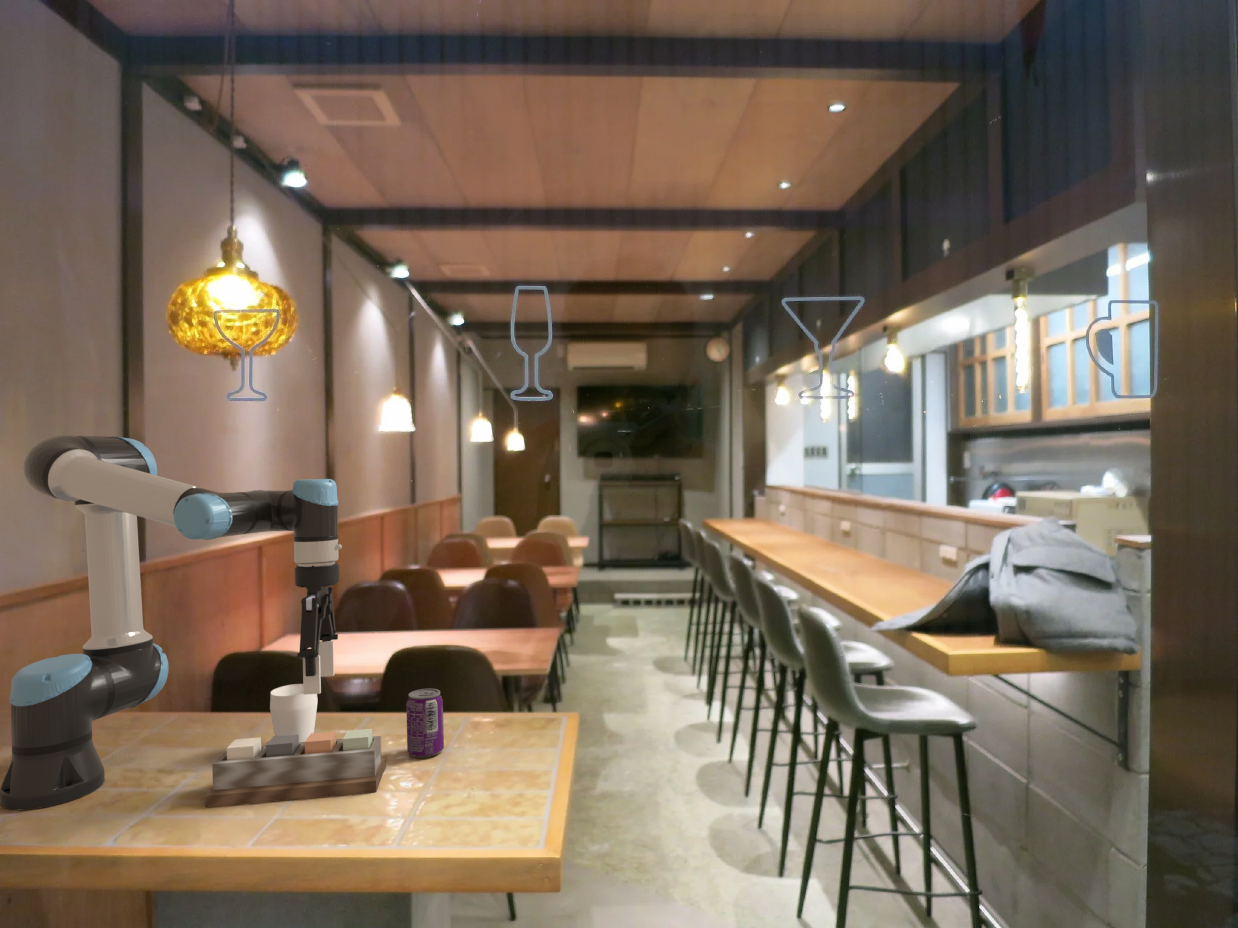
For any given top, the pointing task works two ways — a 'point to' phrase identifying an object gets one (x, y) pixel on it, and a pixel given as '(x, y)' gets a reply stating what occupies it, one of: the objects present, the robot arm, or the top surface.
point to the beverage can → (425, 723)
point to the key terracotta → (320, 742)
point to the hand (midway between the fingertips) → (319, 684)
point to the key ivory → (244, 748)
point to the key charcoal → (282, 745)
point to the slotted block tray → (296, 775)
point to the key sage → (357, 740)
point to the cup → (293, 711)
